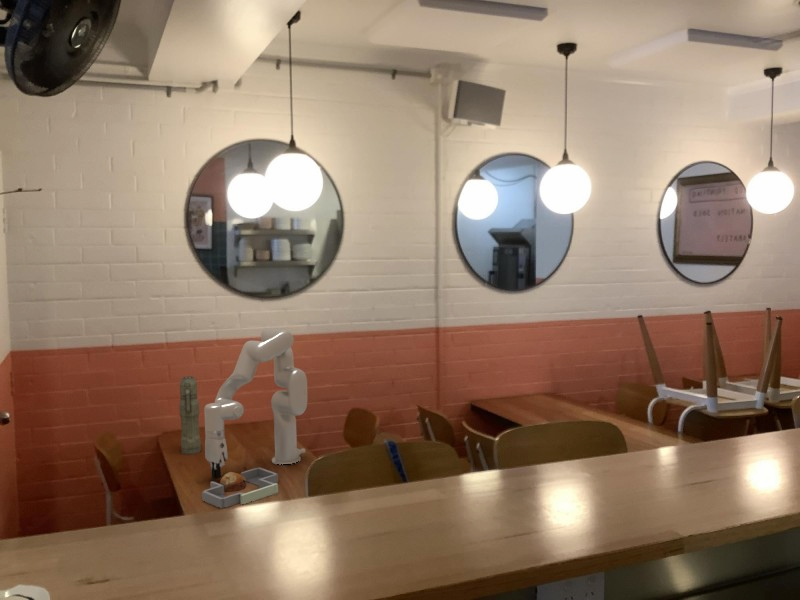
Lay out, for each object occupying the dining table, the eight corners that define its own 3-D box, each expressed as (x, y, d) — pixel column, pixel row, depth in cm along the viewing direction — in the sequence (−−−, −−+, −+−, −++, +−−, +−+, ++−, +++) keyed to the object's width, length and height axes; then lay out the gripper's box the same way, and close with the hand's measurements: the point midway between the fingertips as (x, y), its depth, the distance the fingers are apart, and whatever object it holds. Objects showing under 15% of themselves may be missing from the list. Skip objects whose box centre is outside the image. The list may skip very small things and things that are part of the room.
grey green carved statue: (181, 456, 330) (178, 380, 326) (180, 449, 341) (177, 375, 337) (202, 454, 332) (198, 379, 329) (200, 447, 344) (197, 374, 340)
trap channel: (259, 475, 302) (258, 467, 302) (293, 487, 287) (292, 478, 287) (192, 496, 279) (191, 487, 279) (225, 510, 264) (225, 501, 264)
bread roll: (226, 492, 294) (217, 475, 293) (249, 480, 294) (240, 463, 293) (223, 501, 284) (213, 483, 283) (246, 489, 284) (237, 471, 283)
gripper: (233, 435, 292) (234, 479, 293) (212, 428, 302) (214, 471, 303) (217, 439, 286) (218, 484, 288) (196, 432, 296) (198, 476, 298)
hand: (216, 477), depth 296 cm, fingers closed
